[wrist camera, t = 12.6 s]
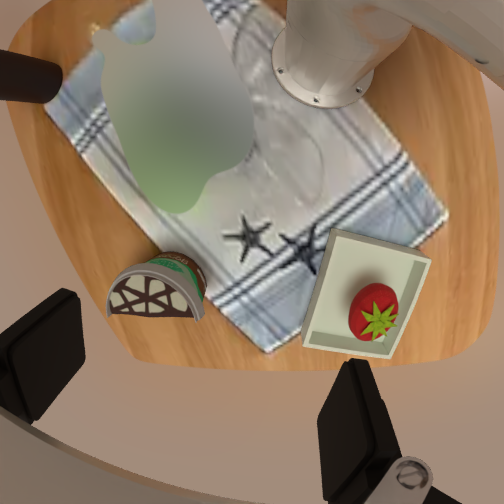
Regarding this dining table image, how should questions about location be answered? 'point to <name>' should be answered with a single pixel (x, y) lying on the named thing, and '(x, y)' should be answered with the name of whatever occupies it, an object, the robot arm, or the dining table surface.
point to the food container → (159, 288)
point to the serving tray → (351, 282)
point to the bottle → (28, 78)
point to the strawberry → (373, 312)
